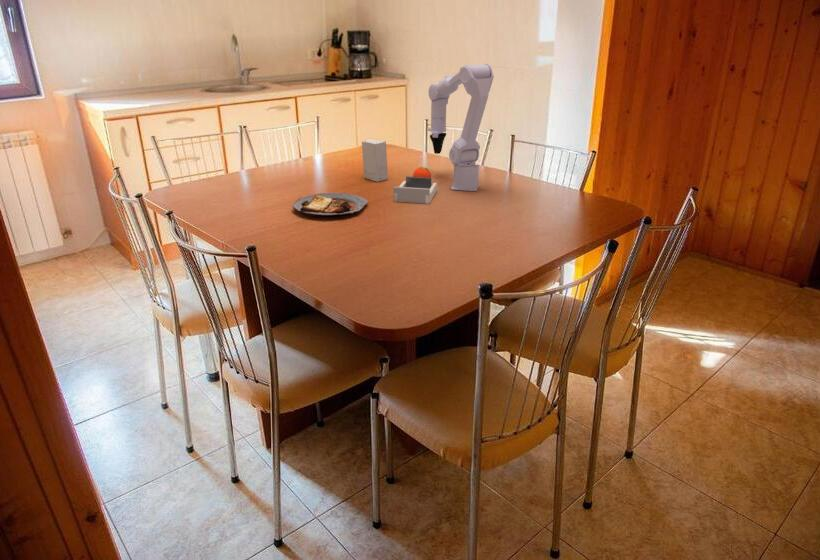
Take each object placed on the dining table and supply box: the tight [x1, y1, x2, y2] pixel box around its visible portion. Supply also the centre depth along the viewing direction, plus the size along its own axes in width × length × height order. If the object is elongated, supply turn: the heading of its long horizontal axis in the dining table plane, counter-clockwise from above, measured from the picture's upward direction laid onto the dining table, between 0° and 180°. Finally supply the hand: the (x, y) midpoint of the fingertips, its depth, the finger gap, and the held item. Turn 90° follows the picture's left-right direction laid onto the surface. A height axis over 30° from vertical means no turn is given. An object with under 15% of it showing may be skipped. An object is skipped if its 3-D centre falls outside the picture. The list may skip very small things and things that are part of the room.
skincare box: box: [361, 138, 389, 182], centre depth 227 cm, size 8×6×15 cm
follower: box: [405, 175, 433, 189], centre depth 212 cm, size 9×1×5 cm, turn 78°
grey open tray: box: [393, 180, 438, 205], centre depth 208 cm, size 12×16×5 cm
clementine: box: [412, 166, 434, 178], centre depth 220 cm, size 8×7×7 cm
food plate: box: [291, 192, 369, 217], centre depth 195 cm, size 25×23×4 cm
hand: (437, 152), depth 229 cm, fingers closed
